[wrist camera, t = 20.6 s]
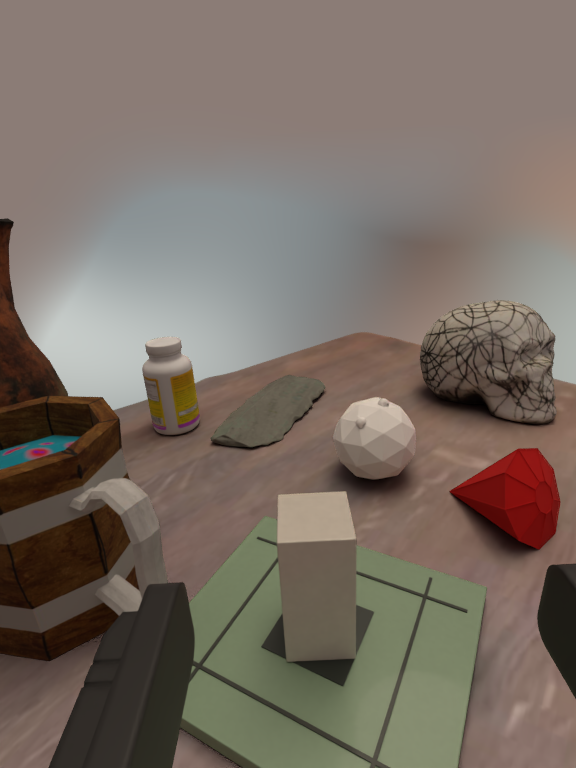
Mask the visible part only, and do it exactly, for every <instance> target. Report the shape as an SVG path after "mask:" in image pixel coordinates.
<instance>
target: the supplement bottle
mask: <svg viewBox="0 0 576 768" xmlns="http://www.w3.org/2000/svg"><path fill="white" fill-rule="evenodd" d="M145 346H146V352H147V353H148V355H149V359H148V360H147V361H146V362H145V363H144V365H143V368H142V370H143V376H144V381H145V386H146V391H147V397H148V402H149V407H150V412H151V417H152V422H153V426H154V429H155V430H156V431H157V432H158V433H160V434H164V435H177V434H182V433H186V432H188V431H191V430H192V429H194V428H195V427H196V426H197V425H198V424H199V421H200V416H199V409H198V402H197V396H196V389H195V383H194V377H193V370H192V364H191V361H190V359H189V358H188V357H187V356H185V355H182V354H181V348H182V346H181V340H180V339H179V338H177V337H162V338H157V339H152V340H150V341H148V342H146V344H145Z"/></svg>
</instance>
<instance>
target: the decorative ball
mask: <svg viewBox="0 0 576 768" xmlns="http://www.w3.org/2000/svg"><path fill="white" fill-rule="evenodd" d="M333 441H334V444H335V448H336V451H337V455H338V458H339V461H340V462H342V463H343V464H344V465H345V466H346V467H347V468H348V469H349V470H350V471H351V472H352V473H353V474H354V475H355V476H357V477H362V478H367V479H372V480H374V479H381V478H386V477H392V476H397V475H398V474H399V473H400V472H401V471H402V470H403V469H404V468H405V466H406V465H407V464H408V463H409V462H410V461H411V460H412V459H413V457H414V455H415V445H416V430H415V428H414V426H413V424H412V423H411V421H410V419H409V417H408V416H407V415H406V413H405V412H404V411H403V410H402V408H401V407H399V406H398V405H396V404H394V403H392V402H389V401H388V400H387V399H383V398H381V399H380V397H379V398H377V397H375V398H371V399H367V400H363V401H359V402H355V403H352V404H351V405H350V407H349V408H348V409H347V410H346V412H345V413H344V414H343V416H342V417H341V418H340V419H339V421H338V422H337V425H336V428H335V432H334V435H333Z"/></svg>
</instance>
